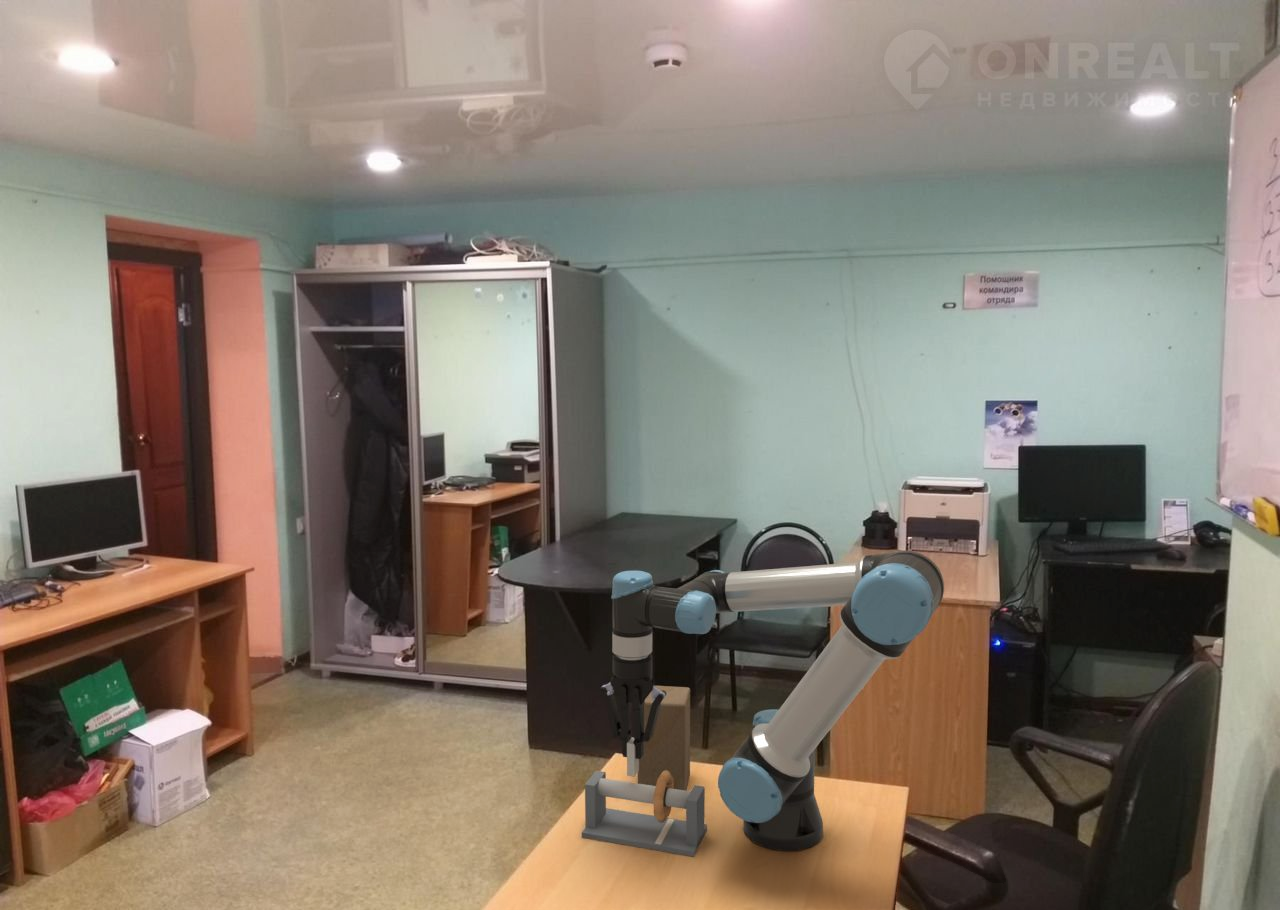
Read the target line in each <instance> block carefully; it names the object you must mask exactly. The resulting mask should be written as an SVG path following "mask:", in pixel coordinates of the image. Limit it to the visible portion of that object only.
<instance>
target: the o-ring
mask: <svg viewBox="0 0 1280 910" xmlns="http://www.w3.org/2000/svg"><path fill="white" fill-rule="evenodd" d="M665 787H669V788H671V789H674V780H673V778H672V776H671V774H670V772H669V771H667V770H665V771H663V772H662V773H661V775H660V776H659V778H658V780H657V783H656V788H655V793H654V804H653V816H655V817H656V819H657V820H658V822H660V823H664V822H665V821H666V819H667V818H669V816H670V814H671V812H672V807H669V806H667V807H664V806H663V797H664V792H665Z"/></svg>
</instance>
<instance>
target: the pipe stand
mask: <svg viewBox="0 0 1280 910" xmlns="http://www.w3.org/2000/svg"><path fill="white" fill-rule="evenodd" d="M606 776H607V775H606V771H602V770H601V771H600V770H595V771H594V772H593V774H592V775H591V776H590V778H589V779H588V780H587V781H586V782H585V783H584V810H585V811H584V813H585V814H584V816H585V822H584V824H585V827H584V829H583V830H582V832H581V838H583V839H588V840H589V839H590V840H595V841H599V842H600V841H601V842H606V843H612V844H618V845H623V846H630V847H635V848H641V849H647V850H651V851H652V850H653V851H658V852H659V851H660V852H665V853H668V854H669V853H670V854H675V855H682V856H687V857H694V858H695V856H696V853H697V852H698V849H699V847H700V845H701V844H702V841H703V838H704V837H705V834H706V832H707V830H708V824H706V823H705V815H706V814H705V813H706V812H705V807H706V806H705V799H706V798H705V797H706V796H705V794H706V793H705V787H706V786H703V785H693V787H692V789H691V791H690V790H686V791H685V790H678V789H671V788H669V787H665V792H664V797H663V806H664V807H667V806H669V807H671V808H678V809H682V810H683V809H684V810H685V811H686V812H685V820H682V819H676V818H671V817H670V818H669V817H667V819H666V821H665V822H664V823H660V822H658V820H657V819H656V817H655V816H654V815H651V814H647V813H646V814H645V813H638V812H632V811H626V810H622V809H621V810H620V809H612V808H607V798H613V799H620V800H625V801H632V802H638V803H644V804H651V805H654V793H655V788H656V786H651V785H644V784H638V782H637V783H636V782H630V781H624V780H618V779H611V778H606Z"/></svg>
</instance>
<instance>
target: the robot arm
mask: <svg viewBox="0 0 1280 910" xmlns="http://www.w3.org/2000/svg"><path fill="white" fill-rule="evenodd" d="M944 592H945V581H944V577H943V575H942V573H941V570H940V569H939V567H938V566H937V564H936V563H935V562H934V561H933V560H932V559H931V558H929V557H928V556H926V555H924V554H922V553H921V552H917V551H912V550H901V551H894V552H886V553H880V554H870V555H869V554H867V555H863V556H862V557H861V559H859V561H855V562H844V563H843V562H841V563H832V564H829V563H828V564H819V565H808V566H795V567H794V566H792V567H781V568H772V569H769V568H767V569H759V570H757V569H756V570H746V571H733V572H732V571H731V572H725V571H723V570H719V569H714V570H710V571H706V572H703V573H702V574H700V575H699V576H698V577H696V578H693V580H691V581H688V582H687V583H685V584H683V585H682V586H679V587H677V588H675V587H674V588H673V587H664V586H658V585H655V584H654V581H653V576H652V574H651V573H650V572H646V571H642V570H625V571H620V572H618V573H617V574H615V575H614V576H613V578H612V590H611V596H610V597H611V598H610V599H611V604H612V605H611V606H612V609H611V610H612V636H611V637H612V642H611V643H612V645H611V646H612V648H611V649H612V650H611V652H612V653H613V655H612V677H611V679H610V680H609V681H610V682H608V683H604V684H603V685H602V686H601V687H600V688H599V690H598V693H599V694H600V696H601V698H602V699H603V701H604V705H605V709H606V713H607V718H608V722H609V725H610V727H609V728H610V731H611V734H612V737H613V738H616V739H617V738H618V739H619V740H621V746H622V747H621V750H622V752H621V754H622V757H623V758H626V776H627V777H631V778H635V777H636V775H638V771H639V759H641V758H642V756H643V754H644V741H646V742H648V741H649V740H650V739H651V737H652V736H653V733H654V729H655V725H656V721H657V717H658V713H659V709H660V705H661V702H662V700H663V699H664V697H665V696H666V691H664V690H662V691H660V690H659V689H658V688H657V687H655V686H656V683H655V680H654V678H653V655H652V652H653V628H657V629H662V630H669V631H673V632H674V631H675V632H679V633H684V634H688V635H692V634H694V635H696V634H697V635H704V634H705V635H706V634H707V633H709V632H710V630H711V629H712V626H714V623H715V620H716V614H721V613H723V614H724V613H736V612H749V611H751V612H753V611H769V610H770V611H771V610H789V609H807V608H809V609H810V608H824V607H826V608H827V607H841V606H842V609H841V610H840V612H839V620H840V624H841V626H840V627H839V629H838V630H837V631H836V633H835V634H834V635H833V637H832V638H831V640H829V642H828V643H827V645H826V646H825V648H824V649H823V650H822V651H821V652H820V654H819V655H818V657H817V658H816V659H815V661H813V664H812V665H811V666H810V668H809V669H808V670H807V672H806V673H805V674H804V675H803V677H802V678H801V680H800V681H799V682H798V684H797V685H796V686H795V687H794V689H793V690H792V692H791V693H790V694H789V695H788V696H787V698H786V700H785V701H784V703H783V704H782V705H781V706H780V707H779V709H774V708H773V709H764V710H760V711H758V712H757V713H755V714H754V716H753V720H752V721H753V722H752V730H751V732H749V734H748V736H747V737H746V739H744V741H743V742H742V744H741V745H740V746H739V748H738V749H737V750H736V751H735V753H733V755H732V757H731V758H730V759H728V760H726V761H725V762H724V764H723V765H722V768H721V769H720V772H719V775H718V778H717V787H718V791H719V795H720V797H721V799H722V802H723V803H724V805H725V806H726V807H727V809H728V810H729V811H730V812H731V813H732V814H733V815H735V816H736V817H738V818H739V819H741V820H743V821H742V823H743V825H742V828H743V832H744V834H745V835H746V836H747V838H748V839H749V840H751V842H754V843H755V844H757V845H759V846H761V847H764V848H767V849H771V850H775V851H782V852H793V851H802V850H806V849H809V848H812V847H814V846H816V845H817V844H818V843H819V842H820V841H821V840H822V838H823V835H824V833H823V832H824V831H823V830H824V823H823V818H822V814H821V811H820V808H819V805H818V802H817V799H816V795H815V773H816V772H815V766H816V765H815V763H816V758H815V757H816V748H817V747H818V746H819V744H820V743H821V741H823V739H824V738H825V737H826V735H827V734H828V733H829V731H830V730H831V729H832V728H833V727H834V725H835V723H837V721H838V720H839V719H840V717H841V716H842V715H843V714H844V712H845V711H846V710H847V709H848V707H849V706H850V705H851V703H852V702H853V701H854V699H855V698H856V697H857V695H859V693H860V692H861V691H862V690H863V688H864V687H865V685H867V683H868V682H869V680H870V679H871V678H872V676H873V675H874V674H875V672H877V670H878V669H879V668H880V666H881V665H882V664H883V662H884V661H885V660H894V659H898V658H900V657H901V655H902V654H903V653H904V652H905V651H906V649H907V648H908V647H909V645H911V643H912V642H913V641H914V640H915V638H916V637H917V636H919V635H920V634H921V633H922V632H923V631H924V630H925V628H926V627H927V626H928V624H929V622H930V620H931V617H932V615H933V614H934V613H935V611H936V610H937V609H938V608H939V606H940V605H941V602H942V599H943V597H944V594H945V593H944ZM614 693H616V695H617V696H618V698H619V700H620V702H619V703H620V704H619V705H620V713H621V714H619V709H618V706H617V701H616V697H615V696H616V695H615V694H614ZM650 693H652V700H653V703H652V705H651V709H650V713H649V717H648V721H647V725H646V729H645V733H644V704H645V699H646V698H647V696H648V695H649V694H650ZM632 708H633V718H634V719H633V723H634V724H633V725H634V726H633V729H634V730H633V732H632ZM633 733H634V737H632V735H633Z"/></svg>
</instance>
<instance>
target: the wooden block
mask: <svg viewBox="0 0 1280 910" xmlns="http://www.w3.org/2000/svg"><path fill="white" fill-rule="evenodd" d="M655 687H657V688H658V689H659V690H660V691H662V690H664V691H666V696H665V697H664V699H663V700H662V702H661V705H660V709H659V713H658V717H657V721H656V725H655V729H654V733H653V736H652V737H651V739H650V740H649V741H648V742H646V741H644V754H643V756H642V758H641V759H639V771H638V773H637V783H638V784H644V785H651V786H656V783H657V780H658V778H659V776H660V775H661V773H662V772H663V771H665V770H667V771H669V772H670V774H671V776H672V778H673V780H674V789H678V790H685V791H687V788H688V785H689V784H688V783H689V779H690V776H691V688H690V687H686V686H670V685H669V686H668V685H667V686H666V685H665V686H664V685H655ZM652 703H653V700H652V693H650V694H649V695H648V696H647V698H646V699H645V704H644V733H645V729H646V725H647V721H648V717H649V713H650V709H651V705H652Z"/></svg>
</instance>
